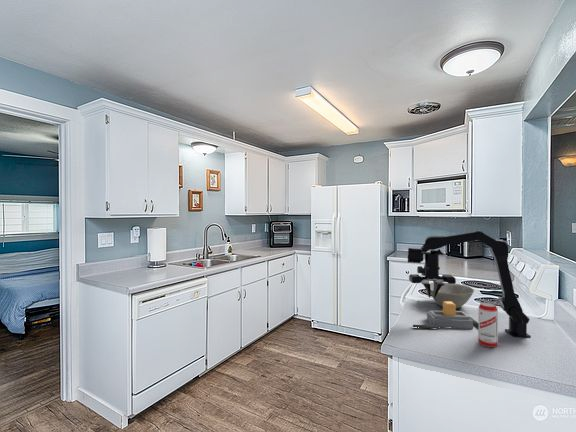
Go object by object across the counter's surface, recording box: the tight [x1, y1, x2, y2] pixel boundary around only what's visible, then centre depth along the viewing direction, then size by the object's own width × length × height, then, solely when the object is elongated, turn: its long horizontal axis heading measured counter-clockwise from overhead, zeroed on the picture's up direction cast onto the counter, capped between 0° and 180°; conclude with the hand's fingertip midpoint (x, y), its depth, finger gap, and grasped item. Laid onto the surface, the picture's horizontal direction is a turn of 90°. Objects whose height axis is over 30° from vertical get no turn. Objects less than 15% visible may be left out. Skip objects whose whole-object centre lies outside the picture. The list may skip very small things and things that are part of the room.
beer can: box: [477, 301, 499, 348], centre depth 116 cm, size 6×6×16 cm
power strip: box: [426, 310, 474, 330], centre depth 137 cm, size 10×16×5 cm, turn 83°
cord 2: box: [469, 316, 479, 328], centre depth 136 cm, size 11×2×2 cm, turn 173°
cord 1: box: [412, 324, 440, 330], centre depth 132 cm, size 2×11×2 cm, turn 83°
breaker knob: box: [442, 301, 457, 316], centre depth 137 cm, size 4×4×6 cm
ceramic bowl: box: [429, 282, 475, 309], centre depth 159 cm, size 22×23×10 cm
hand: (431, 297), depth 137 cm, fingers closed
